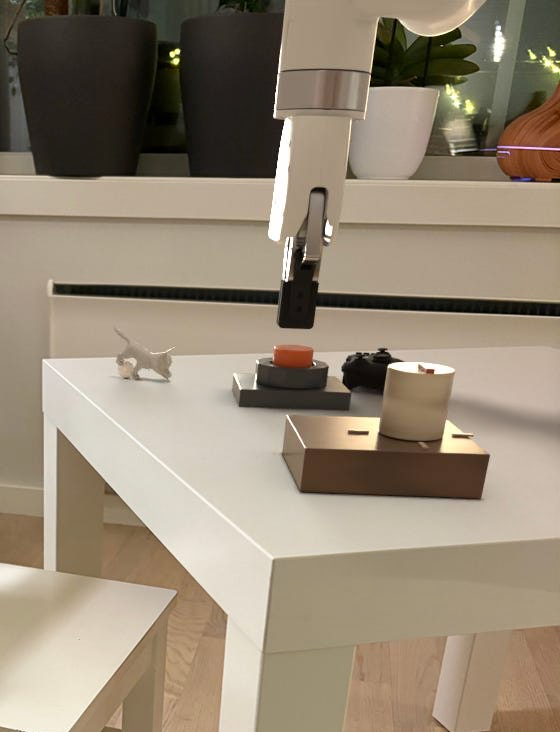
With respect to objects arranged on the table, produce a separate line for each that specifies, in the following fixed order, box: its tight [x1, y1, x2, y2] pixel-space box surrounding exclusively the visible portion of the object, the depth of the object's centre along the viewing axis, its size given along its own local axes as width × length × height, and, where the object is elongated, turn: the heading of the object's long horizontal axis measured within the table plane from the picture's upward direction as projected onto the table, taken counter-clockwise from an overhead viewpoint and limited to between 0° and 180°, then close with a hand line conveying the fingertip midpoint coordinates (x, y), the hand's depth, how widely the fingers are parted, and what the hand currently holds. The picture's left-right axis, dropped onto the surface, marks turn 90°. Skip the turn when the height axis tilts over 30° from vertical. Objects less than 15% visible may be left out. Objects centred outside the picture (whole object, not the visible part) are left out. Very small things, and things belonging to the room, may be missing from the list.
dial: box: [378, 361, 456, 441], centre depth 67 cm, size 4×4×5 cm
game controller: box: [340, 347, 406, 392], centre depth 98 cm, size 10×5×7 cm
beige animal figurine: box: [113, 324, 176, 382], centre depth 99 cm, size 3×8×6 cm
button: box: [272, 344, 315, 367], centre depth 90 cm, size 4×4×2 cm
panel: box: [281, 414, 491, 499], centre depth 69 cm, size 12×10×3 cm
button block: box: [231, 356, 352, 412], centre depth 91 cm, size 10×8×4 cm
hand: (294, 326), depth 89 cm, fingers closed
